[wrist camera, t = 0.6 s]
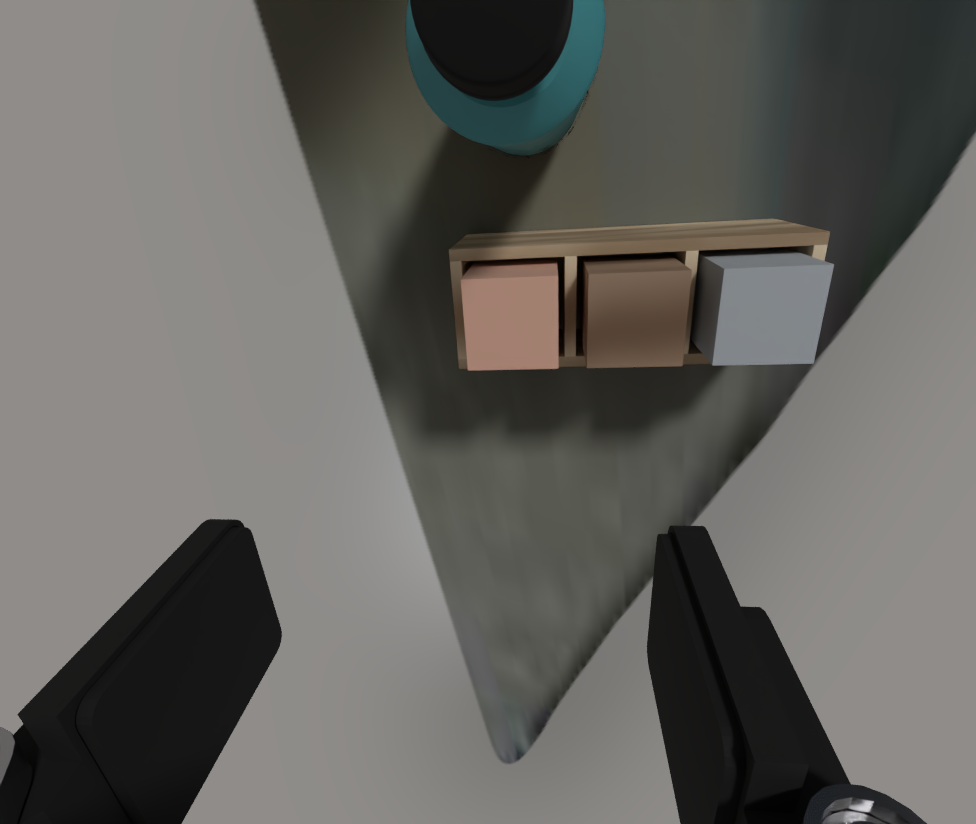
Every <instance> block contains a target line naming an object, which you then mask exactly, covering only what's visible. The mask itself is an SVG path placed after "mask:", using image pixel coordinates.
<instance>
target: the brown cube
mask: <svg viewBox="0 0 976 824" xmlns="http://www.w3.org/2000/svg"><path fill="white" fill-rule="evenodd" d="M691 276H692V270H691V269H690V268H688V267H687V266H685V265H684V264H683V263H681V262H680V261H679V260H677V259H676V258H674V257H673V256H672V255H670V254H651V255H628V256H606V257H584V258H582V311H581V341H582V346H583V351H584V356H585V361H586V366H587V368H619V367H668V366H683V356H684V346H685V336H686V326H687V316H688V306H689V296H690V286H691Z"/></svg>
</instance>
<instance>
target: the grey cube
mask: <svg viewBox="0 0 976 824" xmlns="http://www.w3.org/2000/svg"><path fill="white" fill-rule="evenodd" d="M833 267H834V264H831V263H828V262H826V261H823V260H820V259H817V258H814V257H811V256H808V255H805V254H802V253H799V252H796V251H793V250H791V249H788V248H785V249H763V250H740V251H718V252H699V254H698V263H697V273H696V283H695V292H694V302H693V311H692V321H691V331H690V339H691V340H692V342H693V343H694V344H695V345H696V346H697V348H698V349H699V350H700V351H701V352H702V354H703V355H704V356H705V357H706V359H707V360H708V361H709V362H710V363H711V365H712V366H717V365H767V364H813V363H814V358H815V353H816V348H817V344H818V339H819V334H820V329H821V324H822V320H823V315H824V310H825V305H826V301H827V296H828V291H829V286H830V281H831V277H832V272H833Z"/></svg>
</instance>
